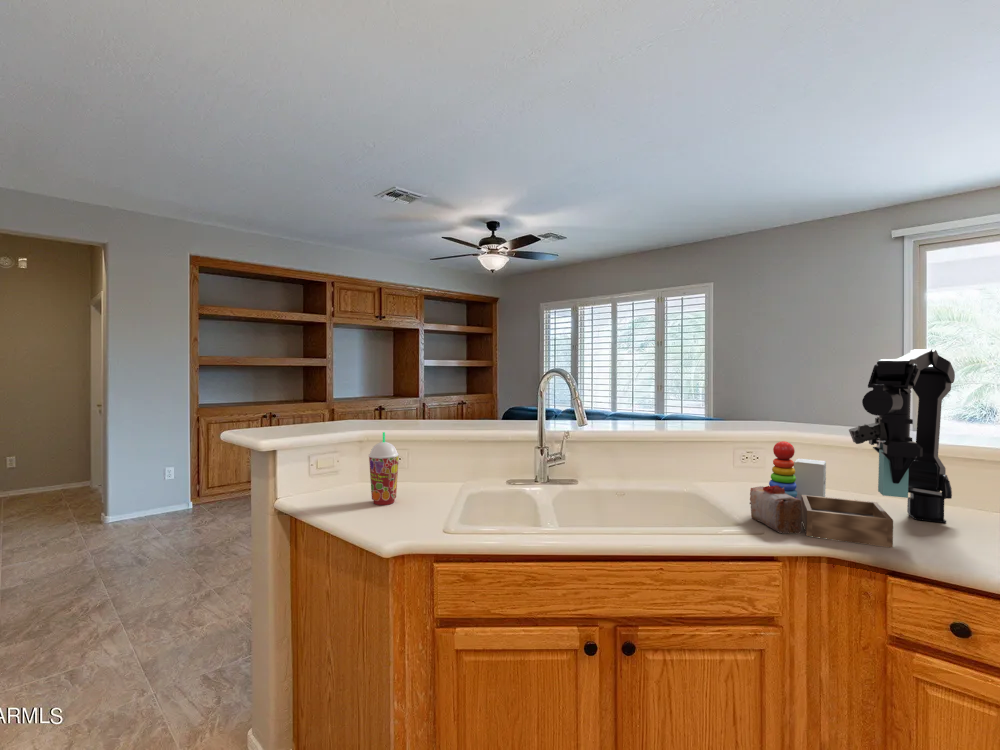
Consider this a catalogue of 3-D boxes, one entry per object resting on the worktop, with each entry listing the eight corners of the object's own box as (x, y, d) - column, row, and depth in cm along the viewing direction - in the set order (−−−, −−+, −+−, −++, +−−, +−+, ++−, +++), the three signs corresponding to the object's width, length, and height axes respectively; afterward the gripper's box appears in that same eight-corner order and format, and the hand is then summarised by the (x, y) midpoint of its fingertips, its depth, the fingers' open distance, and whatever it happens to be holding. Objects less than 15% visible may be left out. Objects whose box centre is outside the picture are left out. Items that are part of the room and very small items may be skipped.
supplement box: (823, 511, 139) (824, 464, 138) (792, 506, 143) (792, 461, 143) (826, 505, 145) (826, 460, 144) (795, 501, 149) (796, 457, 149)
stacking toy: (759, 507, 142) (760, 440, 141) (779, 504, 145) (780, 438, 145) (785, 515, 135) (786, 444, 134) (805, 512, 138) (807, 442, 137)
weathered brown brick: (744, 517, 133) (745, 479, 133) (774, 516, 134) (775, 479, 134) (775, 534, 120) (776, 492, 120) (808, 534, 120) (809, 492, 120)
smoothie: (362, 504, 143) (362, 433, 143) (380, 497, 151) (380, 429, 151) (387, 508, 140) (387, 435, 140) (404, 500, 148) (404, 431, 148)
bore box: (876, 526, 126) (877, 502, 125) (892, 547, 111) (893, 520, 111) (801, 517, 133) (801, 494, 133) (806, 536, 118) (807, 510, 118)
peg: (902, 493, 120) (903, 450, 119) (907, 497, 115) (909, 453, 115) (878, 491, 122) (879, 448, 121) (882, 495, 117) (884, 451, 117)
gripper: (845, 409, 130) (843, 470, 130) (860, 415, 113) (859, 485, 113) (899, 411, 125) (898, 475, 126) (924, 417, 108) (922, 491, 109)
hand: (892, 481), depth 118 cm, fingers closed on peg, 5 cm apart
